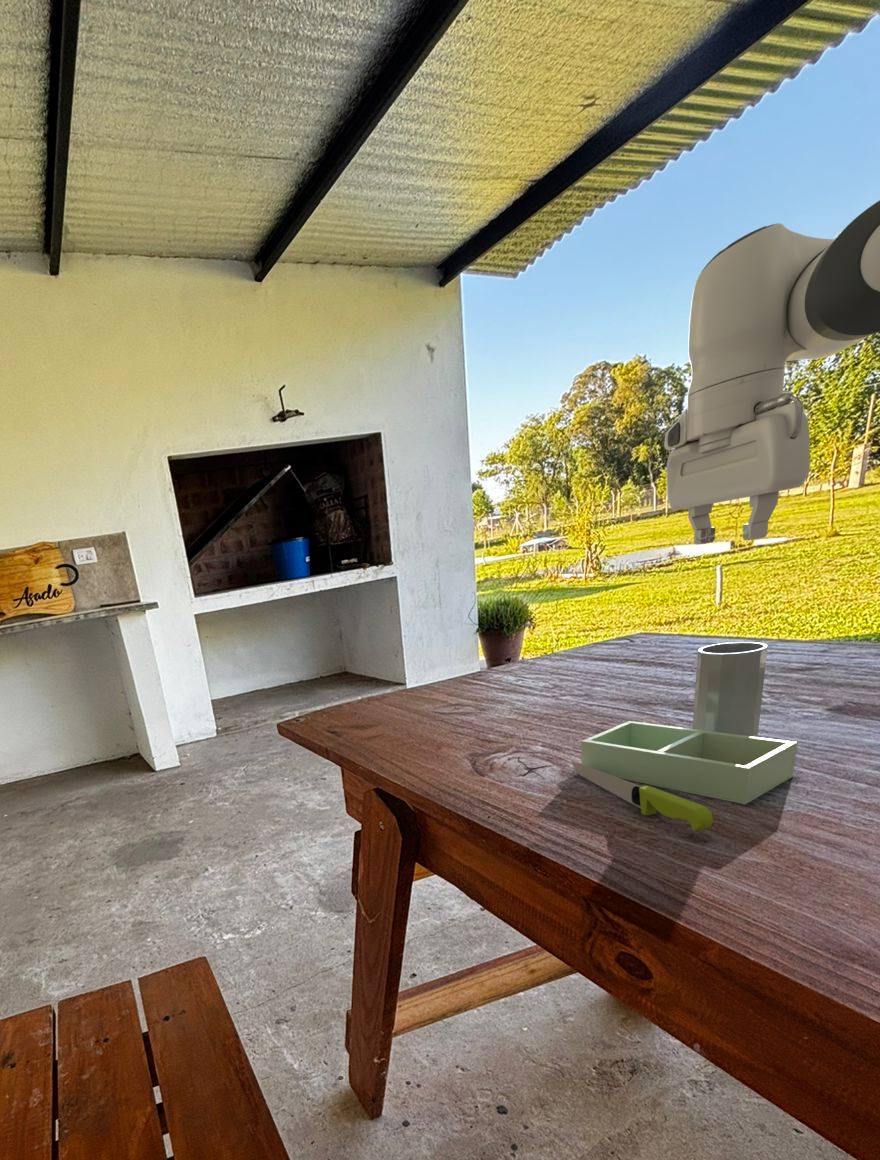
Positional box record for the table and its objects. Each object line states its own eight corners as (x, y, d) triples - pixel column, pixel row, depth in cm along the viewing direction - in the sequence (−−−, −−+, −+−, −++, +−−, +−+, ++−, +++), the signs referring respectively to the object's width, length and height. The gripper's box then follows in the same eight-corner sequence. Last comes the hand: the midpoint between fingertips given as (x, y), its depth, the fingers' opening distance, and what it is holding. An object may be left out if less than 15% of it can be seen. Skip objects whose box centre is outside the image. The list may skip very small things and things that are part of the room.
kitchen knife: (567, 783, 75) (565, 760, 74) (577, 781, 75) (575, 758, 74) (700, 843, 54) (700, 811, 53) (713, 840, 54) (714, 808, 53)
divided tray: (628, 751, 78) (629, 720, 77) (793, 779, 63) (798, 741, 62) (581, 773, 74) (581, 741, 73) (744, 808, 60) (748, 768, 58)
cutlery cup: (709, 736, 78) (717, 641, 74) (767, 743, 73) (779, 642, 69) (680, 750, 76) (686, 653, 71) (738, 759, 70) (748, 654, 66)
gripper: (836, 378, 60) (823, 529, 64) (707, 427, 79) (704, 540, 84) (767, 394, 60) (759, 542, 65) (657, 438, 80) (656, 550, 84)
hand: (728, 541), depth 74 cm, fingers open, 8 cm apart
